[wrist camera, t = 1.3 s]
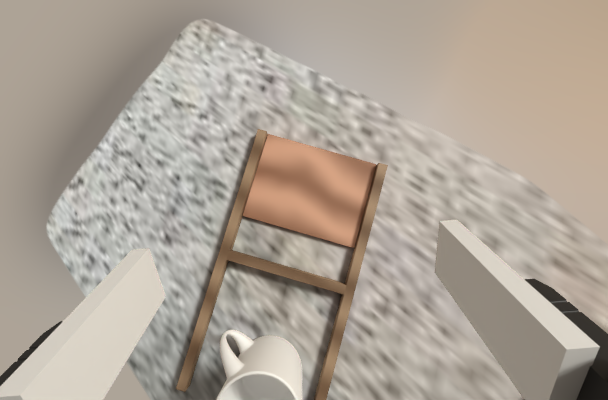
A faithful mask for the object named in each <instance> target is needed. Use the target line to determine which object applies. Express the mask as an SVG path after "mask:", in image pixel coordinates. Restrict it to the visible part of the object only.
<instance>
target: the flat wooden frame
mask: <svg viewBox="0 0 608 400" xmlns="http://www.w3.org/2000/svg"><path fill="white" fill-rule="evenodd" d="M387 166H388V165H384V164H381V163H378V164H377V165H376V164H373V163H369V162H366V161H362V160H359V159H355V158H352V157H348V156H345V155H341V154H337V153H334V152H330V151H327V150H323V149H320V148H316V147H313V146H309V145H306V144H302V143H298V142H295V141H291V140H288V139H284V138H281V137H277V136H274V135H270V134H267V131H264V130H260V129H258V131H257V134H256V137H255V140H254V144H253V147H252V150H251V153H250V156H249V159H248V163H247V166H246V169H245V172H244V175H243V178H242V181H241V185H240V188H239V191H238V194H237V197H236V200H235V204H234V207H233V210H232V213H231V216H230V219H229V223H228V226H227V229H226V232H225V235H224V238H223V241H222V245H221V248H220V251H219V254H218V257H217V260H216V264H215V267H214V270H213V273H212V276H211V279H210V283H209V286H208V289H207V292H206V295H205V298H204V302H203V305H202V308H201V311H200V314H199V317H198V320H197V324H196V327H195V330H194V333H193V336H192V339H191V343H190V346H189V349H188V352H187V355H186V358H185V362H184V365H183V368H182V371H181V374H180V377H179V380H178V384H177V387H176V389H177V390H180V391H184V392H185V391H186V390H187V388H188V387H189V386H190V383H191V380H192V377H193V374H194V370H195V367H196V364H197V361H198V358H199V354H200V351H201V348H202V345H203V341H204V338H205V335H206V332H207V329H208V325H209V322H210V319H211V316H212V313H213V309H214V306H215V303H216V300H217V297H218V293H219V290H220V287H221V284H222V281H223V277H224V274H225V271H226V268H227V265H228V261H232V262H235V263H239V264H242V265H246V266H249V267H252V268H256V269H259V270H263V271H266V272H269V273H273V274H276V275H279V276H283V277H286V278H290V279H293V280H296V281H300V282H303V283H306V284H310V285H313V286H317V287H320V288H323V289H327V290H330V291H334V292H337V293H340V294H342V295H341V299H340V303H339V307H338V310H337V314H336V318H335V322H334V325H333V329H332V333H331V337H330V340H329V344H328V348H327V352H326V355H325V359H324V363H323V367H322V370H321V374H320V378H319V382H318V385H317V389H316V393H315V397H314V400H326V398H327V394H328V391H329V387H330V383H331V379H332V375H333V372H334V368H335V364H336V360H337V356H338V352H339V349H340V345H341V341H342V337H343V333H344V330H345V326H346V322H347V318H348V314H349V311H350V307H351V303H352V299H353V295H354V291H355V288H356V284H357V280H358V276H359V272H360V269H361V265H362V261H363V257H364V253H365V250H366V246H367V242H368V238H369V234H370V231H371V227H372V223H373V219H374V215H375V211H376V208H377V204H378V200H379V196H380V192H381V189H382V185H383V181H384V177H385V173H386V170H387ZM243 216H245V217H249V218H252V219H256V220H259V221H263V222H266V223H269V224H273V225H276V226H280V227H283V228H287V229H290V230H293V231H297V232H300V233H304V234H307V235H311V236H314V237H318V238H321V239H324V240H328V241H331V242H335V243H338V244H342V245H345V246H348V247H352V248H354V250H353V254H352V258H351V262H350V265H349V269H348V273H347V277H346V280H345V283H342V282H339V281H335V280H332V279H328V278H325V277H322V276H318V275H315V274H311V273H308V272H305V271H301V270H298V269H294V268H291V267H288V266H284V265H281V264H277V263H274V262H271V261H267V260H264V259H261V258H257V257H254V256H250V255H247V254H244V253H240V252H237V251H233V250H232V249H233V245H234V242H235V239H236V236H237V233H238V229H239V226H240V223H241V220H242V217H243Z"/></svg>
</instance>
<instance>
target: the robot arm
mask: <svg viewBox="0 0 608 400" xmlns="http://www.w3.org/2000/svg"><path fill="white" fill-rule="evenodd" d="M435 273H436V275H437V276H438V278H439V279H440V280H441V282H442V283H443V285H444V286H445V288H446V289H447V290H448V292H449V293H450V295H451V296H452V297H453V299H454V300H455V302H456V303H457V305H458V306H459V307H460V309H461V310H462V312H463V313H464V314H465V316H466V317H467V319H468V320H469V321H470V323H471V324H472V326H473V327H474V329H475V330H476V331H477V333H478V334H479V336H480V337H481V338H482V340H483V341H484V343H485V344H486V346H487V347H488V348H489V350H490V351H491V353H492V354H493V355H494V357H495V358H496V360H497V361H498V363H499V364H500V365H501V367H502V368H503V370H504V371H505V372H506V374H507V375H508V377H509V378H510V380H511V381H512V382H513V384H514V385H515V387H516V388H517V389H518V391H519V392H520V394H521V395H522V397H523V398H524V399H525V400H608V334H607V333H606V332H605V331H603V330H602V329H601V328H600V327H599V326H597V325H596V324H595V323H594V322H593V321H591V320H590V319H589V318H588V317H587V316H585V315H584V314H583V313H582V312H579V311H578V309H577V308H576V307H574V306H573V305H572V304H571V303H570V302H567V301H566V299H565V298H564V297H562V296H561V295H560V294H559V293H557V292H556V291H555V290H554V289H553V288H551V287H549V286H547V285H545V284H543V283H541V282H539V281H538V280H536V279H525V280H524V279H523V278H522V277H521V276H520V275H519V274H517V273H516V272H515V271H514V270H513V269H512V268H511V267H510V266H508V265H507V264H506V263H505V262H504V261H503V260H502V259H501V258H499V257H498V256H497V255H496V254H495V253H494V252H493V251H492V250H490V249H489V248H488V247H487V246H486V245H485V244H484V243H483V242H481V241H480V240H479V239H478V238H477V237H476V236H475V235H474V234H472V233H471V232H470V231H469V230H468V229H467V228H466V227H465V226H463V225H462V224H461V223H460V222H459V221H458V220H448V221H440V222H439V233H438V243H437V253H436V263H435ZM165 297H166V295H165V292H164V289H163V287H162V284H161V281H160V278H159V275H158V272H157V270H156V267H155V264H154V261H153V258H152V255H151V252H150V250H149V248H145V249H134V250H132V251H131V252H130V253H129V254H128V255H127V256H126V257H125V258H124V259H123V260H122V261H121V262H120V263H119V264H118V265H117V266H116V267H115V268H114V269H113V270H112V271H111V272H110V273H109V274H108V275H107V276H106V277H105V279H104V280H103V281H102V282H101V283H100V284H99V285H98V286H97V287H96V288H95V289H94V290H93V291H92V292H91V293H90V294H89V295H88V296H87V297H86V298H85V299H84V300H83V301H82V302H81V303H80V305H79V306H78V307H77V308H76V309H75V310H74V311H73V312H72V313H71V314H70V315H69V316H68V317H67V318H66V319H65V320H64V321H61V322H59V323H58V324H56V325H55V326H53V327H52V328H51V329H49V330H48V331H46V332H45V333H43V334H42V335H41V336H40V337H39V338H38V339H37V340H36V341H35V342H34V343H33V344H32V346H30V349H29V350H26V351H25V352H24V353H23V354H22V355H21V356H20V357H19V358H18V361H17V362H14V363H13V364H12V365H11V366H10V367H9V368H8V369H7V370H6V371H5V372H4V373H3V374H2V375H1V376H0V400H103V399H104V397H105V396H106V394H107V392H108V391H109V389H110V388H111V386H112V384H113V383H114V381H115V379H116V378H117V376H118V374H119V373H120V371H121V369H122V368H123V366H124V364H125V363H126V361H127V359H128V358H129V356H130V355H131V353H132V351H133V350H134V348H135V346H136V345H137V343H138V341H139V340H140V338H141V336H142V335H143V333H144V331H145V330H146V328H147V326H148V325H149V323H150V322H151V320H152V318H153V317H154V315H155V313H156V312H157V310H158V308H159V307H160V305H161V303H162V302H163V300H164V298H165Z"/></svg>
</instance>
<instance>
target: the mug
mask: <svg viewBox="0 0 608 400" xmlns="http://www.w3.org/2000/svg"><path fill="white" fill-rule="evenodd" d="M227 335H230V336H231V337H232V338H233V339H234V340H235V342H236V344H237V346H238V348H239V351H240V355H239V357H238V358H237V357H236V355H235V354H234V353H233V351H232V350H231V348H230V347H229V345H228V343H227V339H226V336H227ZM220 354H221V359H222V363H223V366H224V370H225V373H226V377H227V380H226V381H225V383H224V385H223V387H222V389H221V391H220V393H219V395H218V397H217V399H216V400H302V364H301V360H300V357H299V355H298V352H297V351H296V349H295V348H294V347H293V345H292V344H291V343H289V342H288V341H287V340H285V339H283V338H281V337H278V336H273V335H267V336H261V337H259V338H256V339H254V340H251V339H250V338H249V337H248V336H246V335H245V334H243V333H241V332H239V331H236V330H228V331H226V332H225V333H224V334H223V335H222V337H221V340H220Z"/></svg>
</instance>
